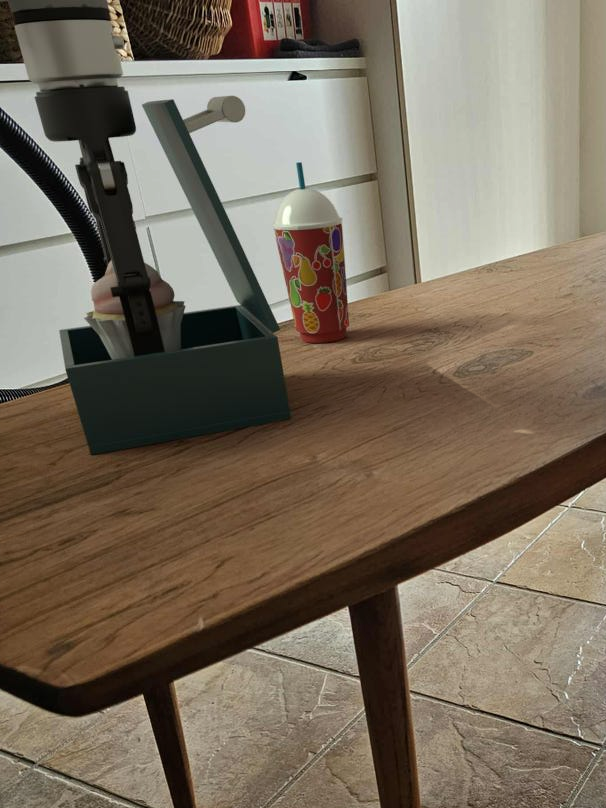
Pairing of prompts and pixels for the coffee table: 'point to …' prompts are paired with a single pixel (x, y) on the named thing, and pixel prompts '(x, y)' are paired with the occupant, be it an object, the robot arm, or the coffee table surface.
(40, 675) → the coffee table surface
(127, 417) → the dark green box
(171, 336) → the cupcake
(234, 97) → the lid
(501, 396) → the coffee table surface
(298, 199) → the smoothie
